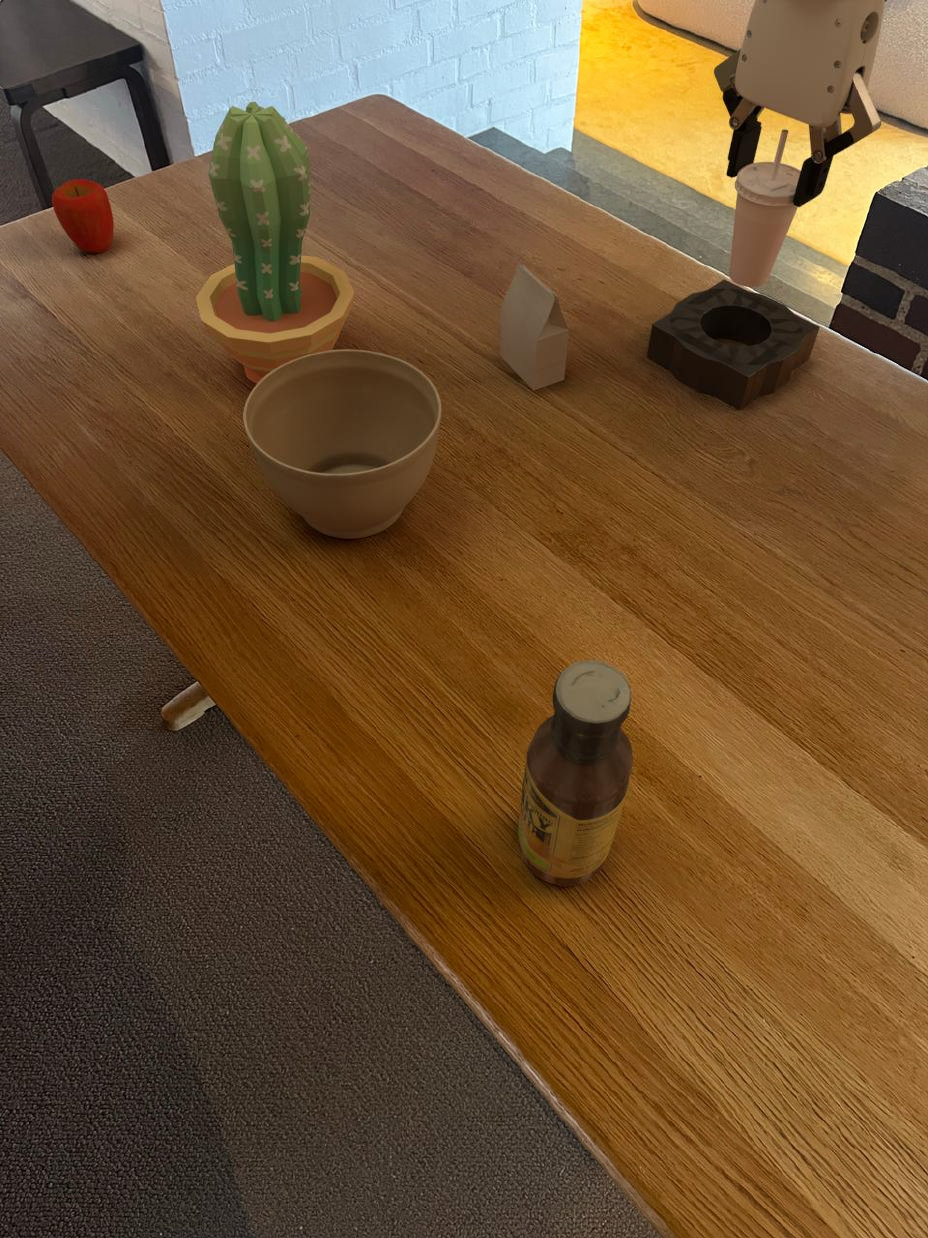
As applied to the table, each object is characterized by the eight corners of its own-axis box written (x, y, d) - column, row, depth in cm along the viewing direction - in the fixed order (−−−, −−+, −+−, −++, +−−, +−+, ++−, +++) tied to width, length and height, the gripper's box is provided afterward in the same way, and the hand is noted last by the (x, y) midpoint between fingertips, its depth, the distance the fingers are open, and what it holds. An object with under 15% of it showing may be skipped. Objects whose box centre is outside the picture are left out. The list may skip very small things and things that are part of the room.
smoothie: (710, 288, 91) (743, 139, 80) (719, 253, 95) (752, 106, 84) (778, 299, 90) (821, 149, 79) (785, 264, 94) (826, 116, 83)
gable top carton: (533, 390, 97) (539, 303, 89) (499, 355, 100) (502, 268, 93) (564, 379, 98) (572, 292, 90) (529, 345, 102) (534, 258, 94)
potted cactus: (388, 343, 102) (370, 96, 82) (308, 428, 93) (267, 174, 74) (267, 305, 106) (223, 62, 87) (181, 383, 98) (110, 132, 78)
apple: (64, 240, 115) (42, 178, 109) (115, 228, 117) (97, 167, 111) (74, 266, 111) (52, 203, 106) (127, 254, 113) (108, 192, 107)
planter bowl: (382, 595, 80) (372, 501, 71) (228, 527, 85) (201, 431, 76) (475, 479, 89) (476, 383, 80) (330, 424, 94) (317, 327, 85)
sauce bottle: (512, 810, 67) (526, 637, 52) (600, 805, 68) (640, 630, 52) (522, 898, 63) (540, 738, 48) (615, 892, 64) (664, 731, 48)
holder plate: (715, 306, 106) (723, 273, 103) (818, 359, 100) (829, 326, 97) (637, 356, 100) (642, 323, 97) (741, 416, 94) (750, 383, 91)
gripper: (962, -31, 69) (879, 207, 83) (764, -86, 77) (719, 140, 91) (907, -5, 66) (830, 238, 80) (706, -65, 74) (669, 166, 88)
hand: (771, 184), depth 86 cm, fingers closed on smoothie, 6 cm apart
